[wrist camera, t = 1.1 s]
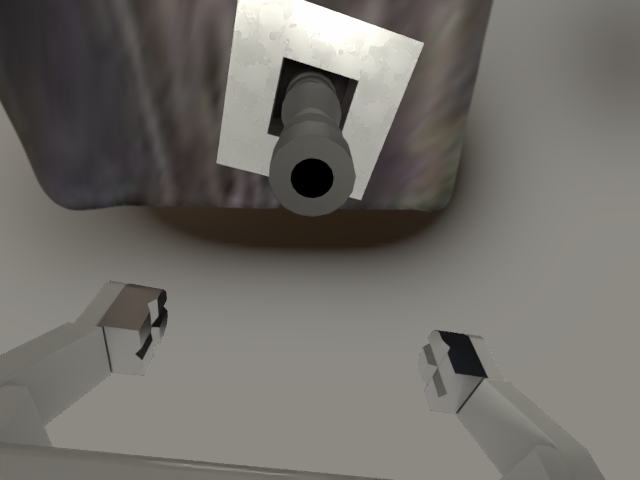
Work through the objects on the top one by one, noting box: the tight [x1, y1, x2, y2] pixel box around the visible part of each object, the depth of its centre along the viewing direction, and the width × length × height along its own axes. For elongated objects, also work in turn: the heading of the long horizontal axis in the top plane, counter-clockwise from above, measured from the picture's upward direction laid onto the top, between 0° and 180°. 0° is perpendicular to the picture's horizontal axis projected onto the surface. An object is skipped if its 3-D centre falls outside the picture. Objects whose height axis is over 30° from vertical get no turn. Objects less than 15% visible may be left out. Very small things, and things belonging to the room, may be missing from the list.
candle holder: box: [269, 66, 356, 217], centre depth 33 cm, size 6×6×25 cm
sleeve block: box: [217, 0, 424, 200], centre depth 40 cm, size 18×18×7 cm
